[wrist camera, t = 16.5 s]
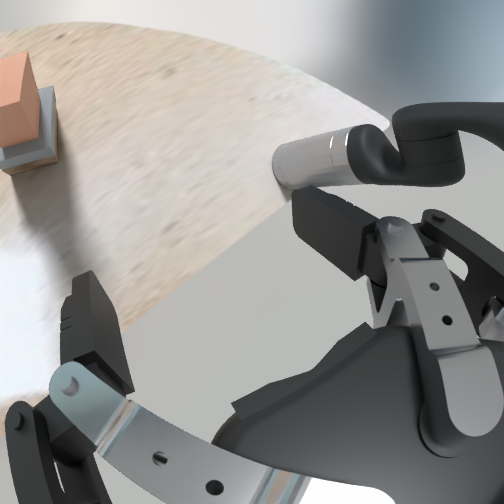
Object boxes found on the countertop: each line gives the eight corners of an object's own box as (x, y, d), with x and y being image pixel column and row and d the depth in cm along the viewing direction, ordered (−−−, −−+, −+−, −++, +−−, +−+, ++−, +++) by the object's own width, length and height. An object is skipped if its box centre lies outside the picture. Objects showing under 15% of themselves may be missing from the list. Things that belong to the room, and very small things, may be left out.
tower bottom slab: (57, 111, 28) (54, 100, 24) (58, 162, 29) (54, 155, 26) (10, 124, 24) (3, 114, 20) (10, 175, 25) (2, 170, 22)
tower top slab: (55, 99, 24) (53, 85, 20) (55, 155, 26) (51, 147, 22) (4, 113, 20) (-4, 101, 16) (2, 170, 22) (-8, 163, 18)
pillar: (40, 99, 20) (27, 51, 11) (39, 138, 21) (19, 100, 12) (4, 109, 17) (-21, 67, 8) (2, 148, 18) (-31, 118, 9)
